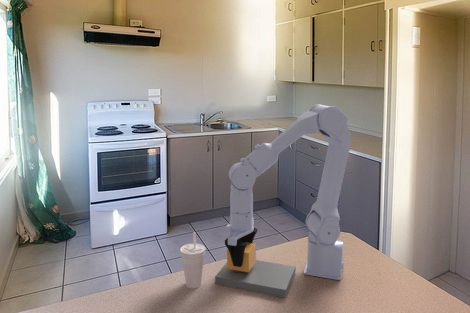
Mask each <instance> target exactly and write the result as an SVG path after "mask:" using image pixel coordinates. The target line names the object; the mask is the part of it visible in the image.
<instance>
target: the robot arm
mask: <svg viewBox="0 0 470 313" xmlns="http://www.w3.org/2000/svg"><path fill="white" fill-rule="evenodd" d="M348 119H349V118H348V116H347V115H346V114H345V113H344V111H343V110H341V109H340V107H337V106H335V105H332V106H330V105H324V104H321V103H320V104H319V103H318V104H315V105H313V106H311V107H310V108H309V110H306V111H304V112H303V113H301V115H300V116H299V117H298V118H297V119H296V120H295V121H293V122H292V123H291V124H290V125H289V126H287V128H286V129H285V130H283V131H282V132H281V133H280V134H279V135H278V136H276V138H275V139H273V140H272V141H271V142H269V143H268V142H262V143H261V144H259V143H257V144H256V145H255V146H254V147H253V148H254V150H252V152H250V153H249V154H248V155H246V156H245V157H242V158H240V160H239V161H240V162H235V163H234V164H232V166H231V167H230V169H229V170H228V173H227V176H228V178H229V181H230V182H231V183H230V192H229V200H230V201H229V205H230V206H229V207H230V208H229V212H230V214H229V215H230V218H229V220H230V221H229V222H230V223H228V224H226V226H225V229H226V230H229V233H228V237H226V239H225V240H224V245H225V247H226V249H228V250H229V252H230V255H231V259H232V263H233V266H236V267H241V266H242V263H243V257H244V251H245V248H246V246H247V244H248V243H253V242H254V240H255V237H256V234H257V232H258V228H256V227H254V224H255V223H254V222H255V220H254V219H255V218H254V208H253V207H254V196H253V195H254V193H253V187H254V185H255V184H256V183H255V182H256V179H257V178H258V177H260V176H261V175H262V174H264V173H265V172H266V171H267V170H269V168H271V167H272V166H273V165H274V164H276V163H277V162H278V161H279V155H280V153H282V152H283V151H284V150H285V149H287V148H288V147H290V146H291V145H293V143H295V142H296V141H298V140H299V139H300V138H302V137H303V136H305V135H310V134H319V133H320V134H321V135H322V137H323V138H324V139H325V140H326V142H327V143H328V145H327V151H326V154H325V160H324V164H323V169H322V170H323V171H322V174H321V177H320V178H321V180H320V184H319V188H318V193H317V198H316V201H315V202H314V203H313V204H312V206H311V209H310V211H309V213H308V214H307V216H306V218H305V226H306V227H307V229H308V230H309V231H308V235H307V251H306V252H307V257H306V265H305V267H304V270H303V272H302V274H304V275H308V276H313V277H320V278H324V279H325V278H326V279H329V280H335V281H341V279H342V273H343V270H344V266H345V264H344V263H345V262H344V250H345V249H344V248H345V246H344V245H345V243H344V241H342V240H339V238H340V235H341V227H340V220H341V218H340V213H339V209H338V204H339V199H340V195H341V191H342V186H343V180H344V176H345V174H346V168H347V163H348V159H349V155H350V151H351V150H350V149H351V146H352V135H351V133H350V128H349V126H348V125H349V124H348ZM253 244H254V243H253Z"/></svg>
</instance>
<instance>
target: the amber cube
mask: <svg viewBox="0 0 470 313" xmlns="http://www.w3.org/2000/svg"><path fill="white" fill-rule="evenodd" d="M256 246H257V245H256V243H248V244H247V246H246V248H245V251H244V257H243V263H242V266H241V267H236V266H233V263H232V259H231V255H230V252H229V250H228V248H226V260H227V261H226V263H227V269H232V270H238V271H243V272H249V271H250V270H251V268H252V267H253V265H254V264H255V262H256V260H257V259H256V256H257V253H256V251H257V250H256V249H257V247H256Z"/></svg>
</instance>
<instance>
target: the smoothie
mask: <svg viewBox="0 0 470 313" xmlns="http://www.w3.org/2000/svg"><path fill="white" fill-rule="evenodd" d="M196 235H197V234H196V231H193V234H192V237H193V238H192V241H193V243H192V242H191V243H187V244H184V245H182V246H181V247H180V248H179V255H180V256H181V261H182V267H183V274H184V279H185V284H186V287H187V288H188V289H198V288H199V287H201V286H202V278H203V268H204V261H205V260H204V259H205V254H206V252H207V251H206V247H205V246H204V245H203V244H201V243H197V240H196V238H197V237H196Z"/></svg>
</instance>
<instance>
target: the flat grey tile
mask: <svg viewBox="0 0 470 313" xmlns="http://www.w3.org/2000/svg"><path fill="white" fill-rule="evenodd" d="M296 268H297V267H296V266H295V265H289V264H281V263H277V262H269V261H264V260H257V259H256V262H255V264H254V265H253V267H252V268H251V270H250V271H249V272H243V271H238V270H232V269H227V262H225V264H224V265H223V266H222V267H221V269H220V270H219V271H218V273H217V274H216V275H215V276H214V284H215V285H219V286H224V287H229V288H233V289H239V290H243V291H248V292H249V291H250V292H254V293H260V294H265V295H270V296H276V297H280V298H286V297H287V295H288V293H289V290H290V287H291V286H292V283H293V281H294V278H295V275H296V271H297V269H296Z"/></svg>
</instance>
